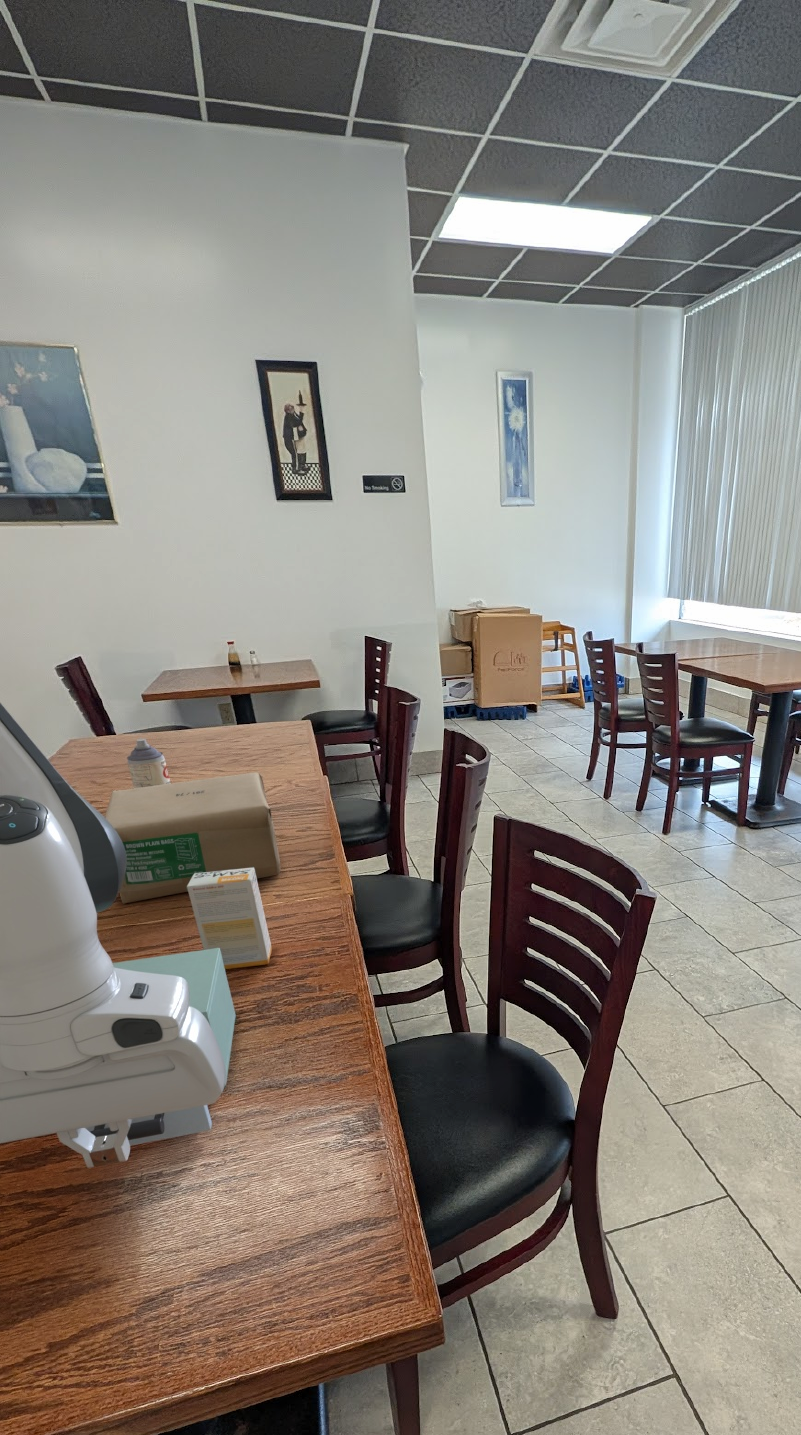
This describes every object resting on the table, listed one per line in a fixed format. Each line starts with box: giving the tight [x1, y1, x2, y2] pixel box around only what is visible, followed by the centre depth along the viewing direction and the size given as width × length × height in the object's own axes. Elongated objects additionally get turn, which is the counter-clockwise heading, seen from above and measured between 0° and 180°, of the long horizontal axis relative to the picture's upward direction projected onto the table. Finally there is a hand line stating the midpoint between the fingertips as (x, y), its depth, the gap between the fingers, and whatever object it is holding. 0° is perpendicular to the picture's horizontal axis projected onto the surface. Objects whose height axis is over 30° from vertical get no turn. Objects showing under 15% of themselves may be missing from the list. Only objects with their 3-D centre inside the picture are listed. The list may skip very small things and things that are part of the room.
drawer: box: [85, 1105, 213, 1147], centre depth 74 cm, size 18×11×8 cm, turn 15°
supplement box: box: [187, 868, 273, 970], centre depth 104 cm, size 8×5×13 cm, turn 100°
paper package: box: [104, 771, 282, 905], centre depth 136 cm, size 27×26×14 cm
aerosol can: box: [126, 738, 171, 789], centre depth 152 cm, size 7×7×20 cm
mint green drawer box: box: [112, 948, 237, 1088], centre depth 84 cm, size 15×13×10 cm
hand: (110, 1159), depth 62 cm, fingers closed
